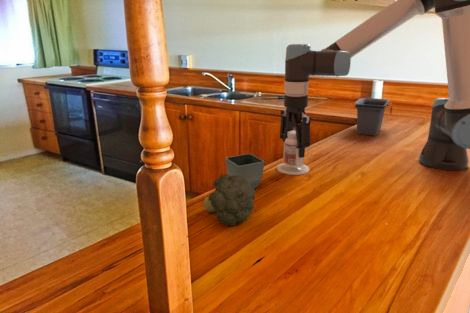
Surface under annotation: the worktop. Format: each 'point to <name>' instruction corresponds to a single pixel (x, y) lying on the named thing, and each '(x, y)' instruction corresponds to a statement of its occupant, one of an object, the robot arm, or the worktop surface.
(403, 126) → the worktop surface
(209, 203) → the vegetable
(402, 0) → the robot arm
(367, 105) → the storage bin
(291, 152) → the pill bottle
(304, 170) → the coaster
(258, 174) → the flower pot
